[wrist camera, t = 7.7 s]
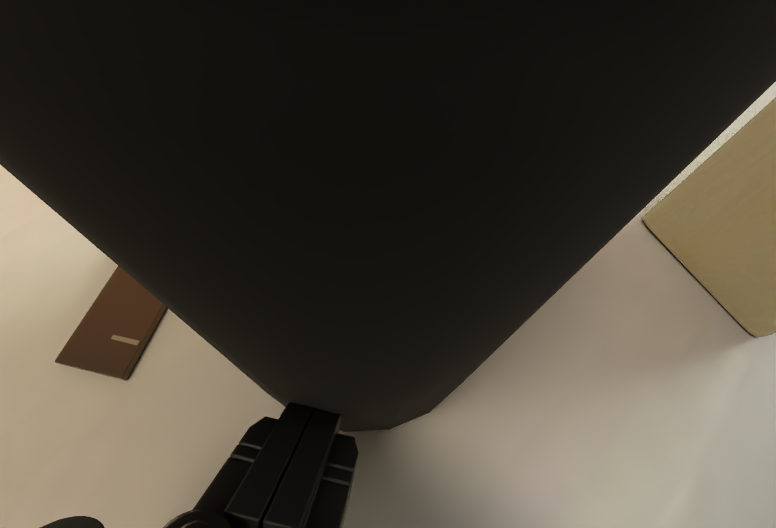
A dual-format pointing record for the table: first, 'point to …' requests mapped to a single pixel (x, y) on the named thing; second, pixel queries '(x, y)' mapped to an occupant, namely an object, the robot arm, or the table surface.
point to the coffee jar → (365, 163)
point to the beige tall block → (730, 223)
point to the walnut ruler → (114, 328)
